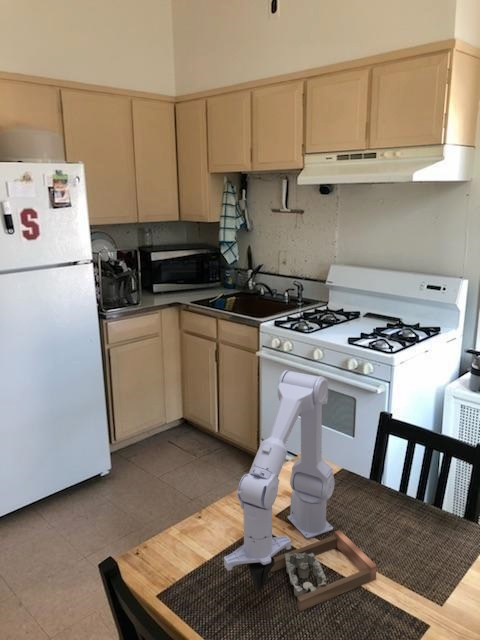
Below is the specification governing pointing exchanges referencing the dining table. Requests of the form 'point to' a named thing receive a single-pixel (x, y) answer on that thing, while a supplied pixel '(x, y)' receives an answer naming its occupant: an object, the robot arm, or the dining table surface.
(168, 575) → the dining table surface
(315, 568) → the egg carton
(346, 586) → the channel
